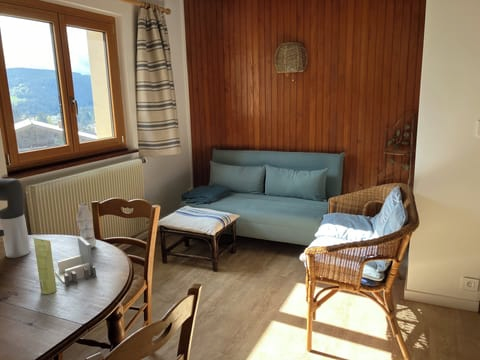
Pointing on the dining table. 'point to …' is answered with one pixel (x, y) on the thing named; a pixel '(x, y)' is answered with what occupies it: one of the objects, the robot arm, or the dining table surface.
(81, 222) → the plastic bottle
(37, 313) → the dining table surface
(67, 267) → the end holder
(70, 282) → the clips
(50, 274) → the tube
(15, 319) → the dining table surface
